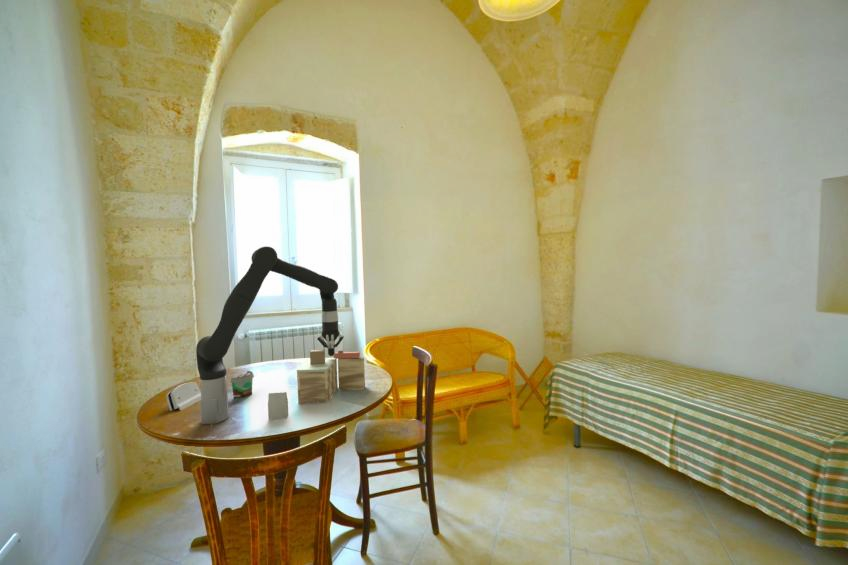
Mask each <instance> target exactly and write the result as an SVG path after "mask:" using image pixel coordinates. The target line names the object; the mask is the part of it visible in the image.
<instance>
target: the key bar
mask: <svg viewBox="0 0 848 565" xmlns="http://www.w3.org/2000/svg"><path fill="white" fill-rule="evenodd" d="M359 357H361V352H360V351H344V349H338V350H337V351H335V353H334V355H333V358H337V359H339V358H359Z"/></svg>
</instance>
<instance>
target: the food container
mask: <svg viewBox="0 0 848 565" xmlns="http://www.w3.org/2000/svg"><path fill="white" fill-rule="evenodd" d="M254 377H255V376H254V372H253V371H251V370H246V373H243V374H239V375H238V376H237V377H230V383H231V386H232V388H231V389H232V395H233V399H234V400H236V399H243V398H248V397H250V396H251V395H252V394H253V378H254Z"/></svg>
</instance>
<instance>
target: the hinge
mask: <svg viewBox="0 0 848 565" xmlns="http://www.w3.org/2000/svg"><path fill="white" fill-rule="evenodd" d="M165 398H166V401H167V405H168V408H169V411H171V412H172V411H173V410H176V409H178V410H179V411H183V410H184V409H187V408H188V407H191V406H192V405H194V404H197V402H200V401H201V388H200V386H199V385H198V383H197V382H196V381H190V382H185V383H181V384H179V385H176V386H175V387H174V388H172V389H171V390H170V391H169V392H168V393H166V395H165Z"/></svg>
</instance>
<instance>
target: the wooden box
mask: <svg viewBox="0 0 848 565" xmlns="http://www.w3.org/2000/svg"><path fill="white" fill-rule="evenodd" d="M365 372H366V371H365V356H360V357H359V358H337V360H336V361H335V362H334V363H333V365H332V366H331V367H330V368H329V369H328V371H323V372H297V371H296V378H297V379H296V380H297V382H296V383H297V399H298V400H297V402H298V404H301V405H302V404H303V405H304V404H328V403H329V402H330V401H331V399H332V398H333V396H334V394H335V392H336V391H337V390H336V389H338V391H339V390H342V391H364V390H365V389H366V376H365Z"/></svg>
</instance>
